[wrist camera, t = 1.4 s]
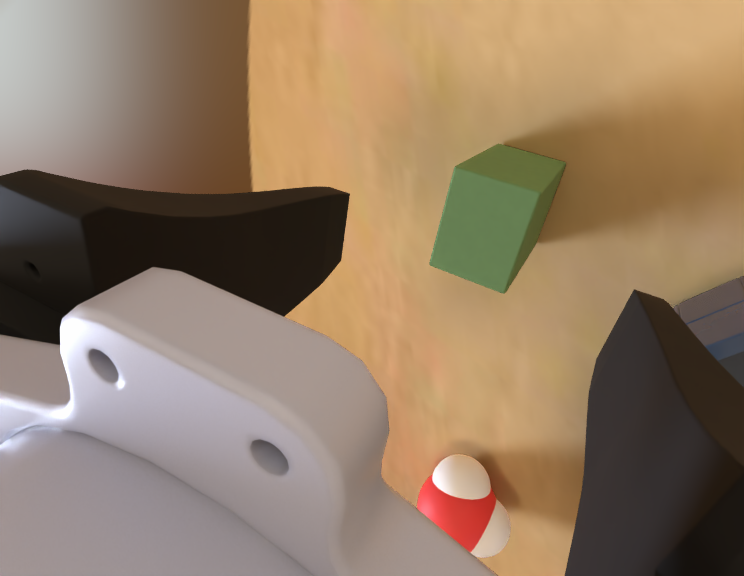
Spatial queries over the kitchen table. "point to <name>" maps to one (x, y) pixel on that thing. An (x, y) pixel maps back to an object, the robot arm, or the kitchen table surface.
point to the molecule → (465, 506)
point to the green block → (495, 214)
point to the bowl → (719, 324)
